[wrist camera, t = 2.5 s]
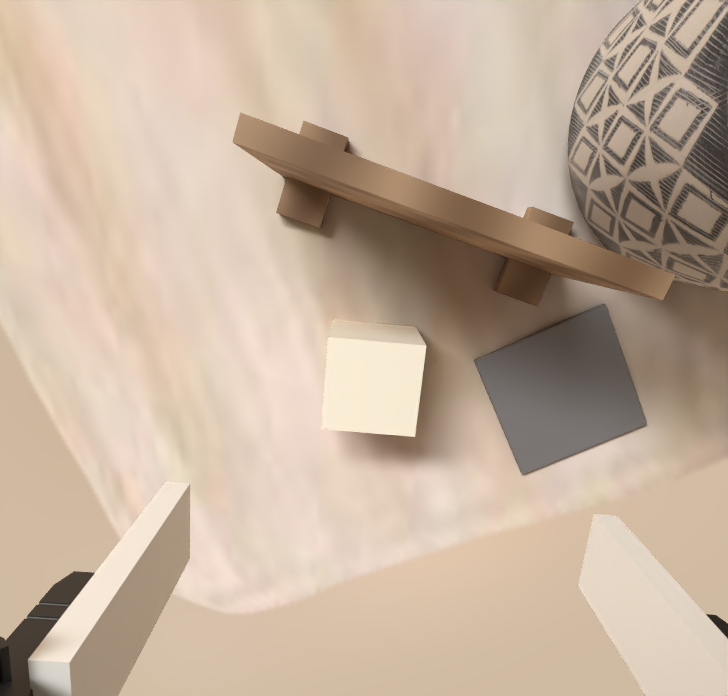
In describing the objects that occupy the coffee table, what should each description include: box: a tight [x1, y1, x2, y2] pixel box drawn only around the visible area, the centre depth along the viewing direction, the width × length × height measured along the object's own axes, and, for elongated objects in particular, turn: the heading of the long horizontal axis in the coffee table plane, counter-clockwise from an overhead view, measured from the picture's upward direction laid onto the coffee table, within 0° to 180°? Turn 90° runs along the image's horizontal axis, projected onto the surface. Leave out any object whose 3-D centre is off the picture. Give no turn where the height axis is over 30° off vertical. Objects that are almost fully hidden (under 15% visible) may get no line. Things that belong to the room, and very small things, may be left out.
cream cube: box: [321, 319, 426, 437], centre depth 33 cm, size 6×6×6 cm
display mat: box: [474, 304, 647, 475], centre depth 36 cm, size 10×10×1 cm
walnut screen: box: [233, 113, 675, 306], centre depth 27 cm, size 20×6×13 cm, turn 71°
